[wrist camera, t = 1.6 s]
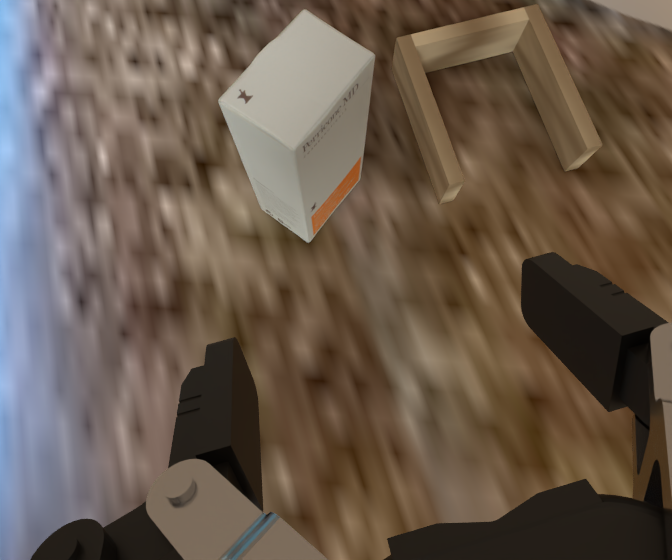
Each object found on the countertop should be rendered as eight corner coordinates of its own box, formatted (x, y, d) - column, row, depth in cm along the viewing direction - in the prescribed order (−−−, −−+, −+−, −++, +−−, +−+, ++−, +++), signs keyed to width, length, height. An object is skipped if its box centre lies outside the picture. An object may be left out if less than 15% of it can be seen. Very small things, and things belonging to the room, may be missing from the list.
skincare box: (310, 246, 30) (291, 154, 18) (260, 209, 31) (211, 99, 19) (364, 178, 31) (379, 51, 20) (315, 145, 32) (301, 2, 20)
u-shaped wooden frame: (439, 204, 31) (449, 184, 28) (391, 68, 33) (396, 37, 30) (578, 167, 31) (602, 144, 28) (520, 37, 34) (537, 3, 31)
